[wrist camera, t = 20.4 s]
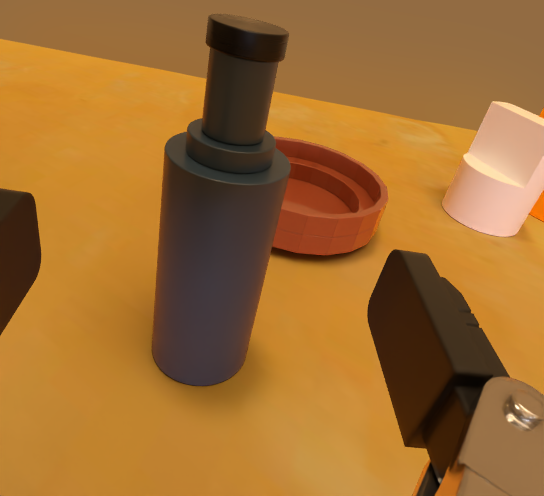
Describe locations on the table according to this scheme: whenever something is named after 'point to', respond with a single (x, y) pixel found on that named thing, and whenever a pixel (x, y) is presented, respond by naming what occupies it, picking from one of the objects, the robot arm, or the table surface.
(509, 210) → the cylinder with rectangular tab
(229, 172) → the flask
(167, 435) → the table surface
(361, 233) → the bowl
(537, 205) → the orange juice
